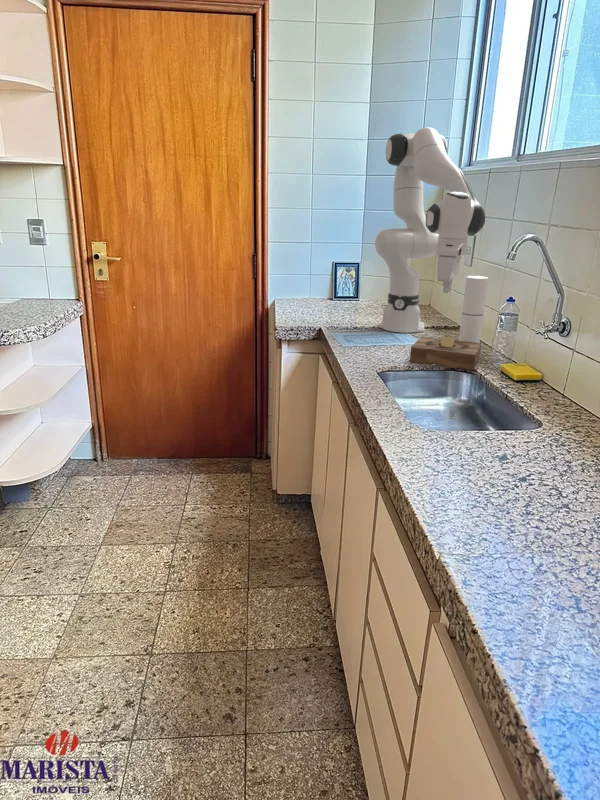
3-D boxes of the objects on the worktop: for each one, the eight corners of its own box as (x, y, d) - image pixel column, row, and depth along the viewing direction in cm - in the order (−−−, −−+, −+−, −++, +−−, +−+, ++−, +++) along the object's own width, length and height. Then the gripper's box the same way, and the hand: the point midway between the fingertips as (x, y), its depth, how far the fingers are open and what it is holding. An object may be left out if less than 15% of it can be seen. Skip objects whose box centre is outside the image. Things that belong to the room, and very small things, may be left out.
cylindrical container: (456, 349, 194) (465, 277, 186) (459, 345, 201) (467, 275, 192) (477, 352, 192) (487, 279, 183) (479, 347, 198) (489, 276, 190)
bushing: (439, 357, 184) (442, 333, 181) (452, 358, 183) (455, 335, 180) (438, 360, 181) (441, 336, 178) (450, 362, 179) (453, 338, 176)
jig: (419, 350, 192) (421, 336, 191) (479, 357, 185) (481, 343, 183) (409, 361, 178) (411, 346, 177) (473, 370, 171) (475, 354, 169)
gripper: (446, 244, 181) (441, 286, 186) (435, 249, 164) (430, 296, 169) (466, 245, 179) (461, 288, 184) (457, 251, 161) (451, 298, 166)
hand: (446, 292), depth 176 cm, fingers closed
